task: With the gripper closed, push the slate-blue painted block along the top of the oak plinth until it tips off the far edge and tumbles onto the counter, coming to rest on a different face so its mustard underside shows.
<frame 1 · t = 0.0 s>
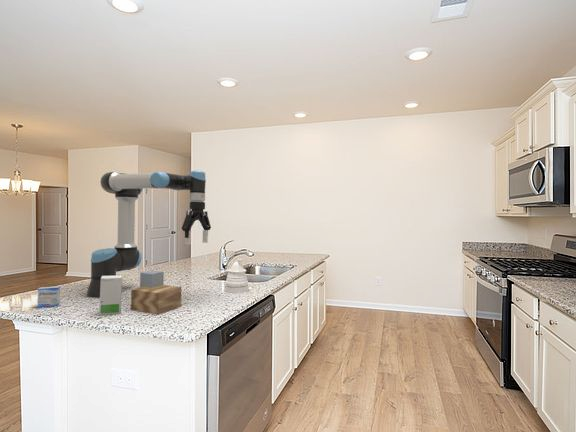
hand: (196, 243, 171), 28 cm above the counter, tool pointing down, fingers open, 13 cm apart
slate-blue block: (151, 287, 155), point 9 cm above the counter, touching oak plinth
skincare box: (110, 313, 145), on the counter
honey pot: (236, 291, 190), on the counter
medicine box: (48, 306, 153), on the counter
oak plinth: (156, 308, 154), on the counter
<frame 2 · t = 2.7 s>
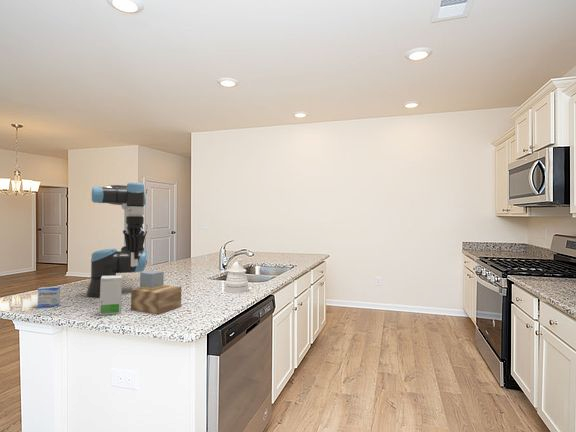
hand: (134, 266, 159), 18 cm above the counter, tool pointing down, fingers closed
nothing on the counter moved.
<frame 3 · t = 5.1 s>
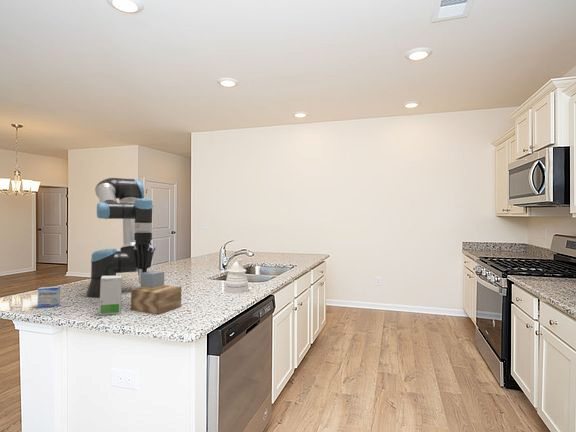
hand: (142, 282, 157), 11 cm above the counter, tool pointing down, fingers closed
slate-blue block: (152, 287, 154), point 9 cm above the counter, touching gripper
everything else where it was.
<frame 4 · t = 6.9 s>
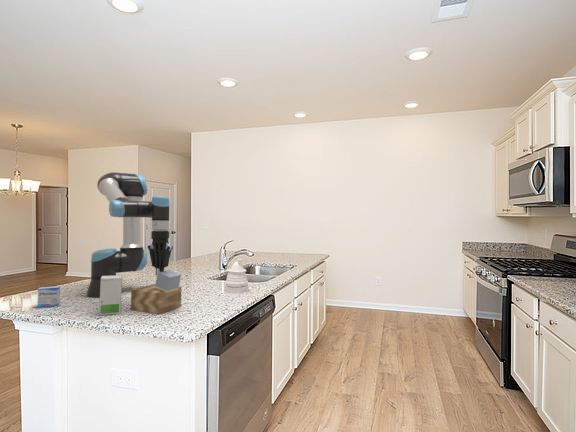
hand: (159, 282, 152), 12 cm above the counter, tool pointing down, fingers closed
slate-blue block: (166, 288, 151), point 9 cm above the counter, tilted 13°, touching gripper, oak plinth
everything else where it was.
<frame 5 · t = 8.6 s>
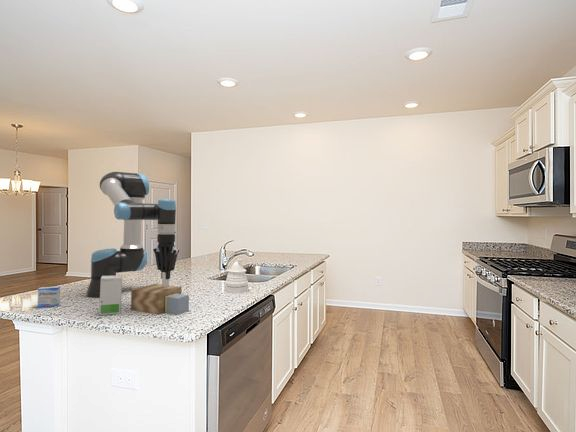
hand: (165, 286, 152), 10 cm above the counter, tool pointing down, fingers closed
slate-blue block: (170, 302, 150), point 3 cm above the counter, tilted 90°
everything else where it was.
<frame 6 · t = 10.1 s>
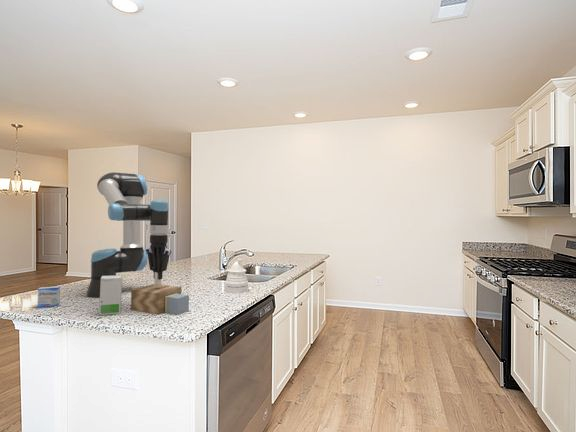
hand: (157, 286, 154), 10 cm above the counter, tool pointing down, fingers closed
nothing on the counter moved.
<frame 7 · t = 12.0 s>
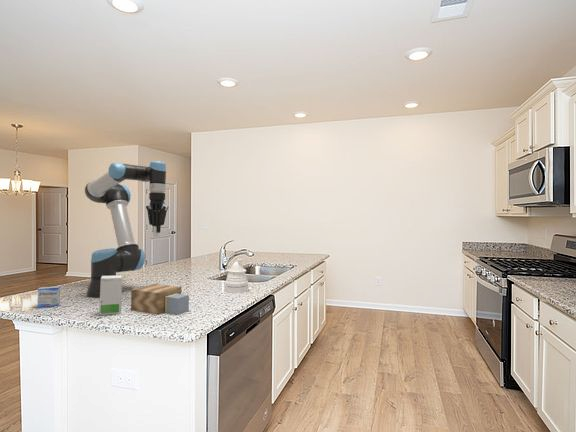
hand: (156, 239, 171), 30 cm above the counter, tool pointing down, fingers closed
nothing on the counter moved.
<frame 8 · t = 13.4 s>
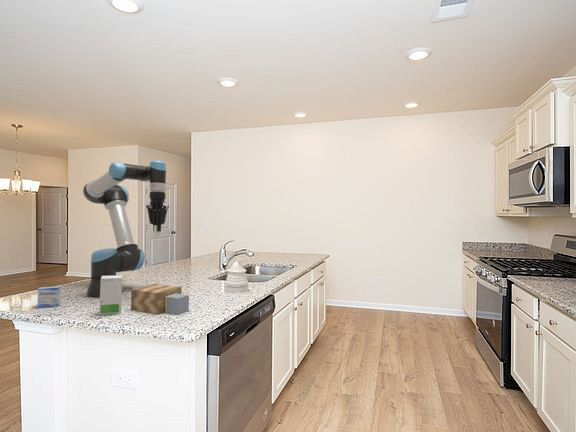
hand: (156, 238, 172), 30 cm above the counter, tool pointing down, fingers closed
nothing on the counter moved.
at the end: slate-blue block tilted 90°; slate-blue block inside the target area (11.5 cm from its centre), point 3.4 cm above the counter; the gripper is holding nothing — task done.
